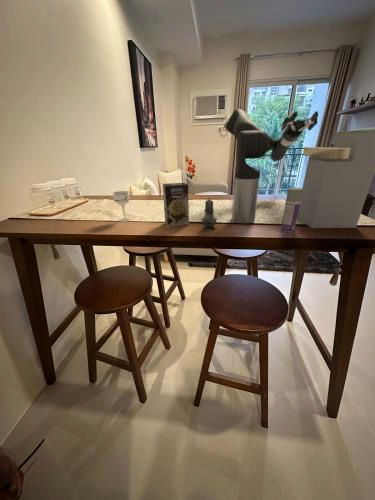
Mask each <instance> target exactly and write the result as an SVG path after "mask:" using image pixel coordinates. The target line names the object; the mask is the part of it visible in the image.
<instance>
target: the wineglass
mask: <svg viewBox="0 0 375 500" xmlns="http://www.w3.org/2000/svg"><path fill="white" fill-rule="evenodd" d="M112 195H113V201H114V203H116V204H117V205H119V206H121V207H122V212H123V218H121V220H120V219H119V220H120V221H119V222H122V223H123V222H129V221H131V220H130V219H131V218H130V217H126V212H125V205H126V204H128V203H129V201H130V198H131V197H130V194H129V191H127V190H123V191H122V190H120V191H115V192H112ZM129 218H130V219H129Z"/></svg>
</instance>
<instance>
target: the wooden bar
mask: <svg viewBox="0 0 375 500" xmlns="http://www.w3.org/2000/svg"><path fill="white" fill-rule="evenodd" d="M350 149H351V148H333V147H320V146H319V147H313V146H312V147H303V152H302V155H301V156H303V157H321V158H330V159H348V156H349V153H350Z"/></svg>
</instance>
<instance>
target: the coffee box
mask: <svg viewBox="0 0 375 500" xmlns="http://www.w3.org/2000/svg"><path fill="white" fill-rule="evenodd" d="M162 193H163V196H162V197H163V209H164V212H163V213H164V223H165V225H166V227H168V228H173V227H182V226H189V225H190V209H189V208H190V207H189V205H190V204H189V203H190V202H189V184H188V183H185V182H177V183H175V182H172V183H170V182H169V183H162Z"/></svg>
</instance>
